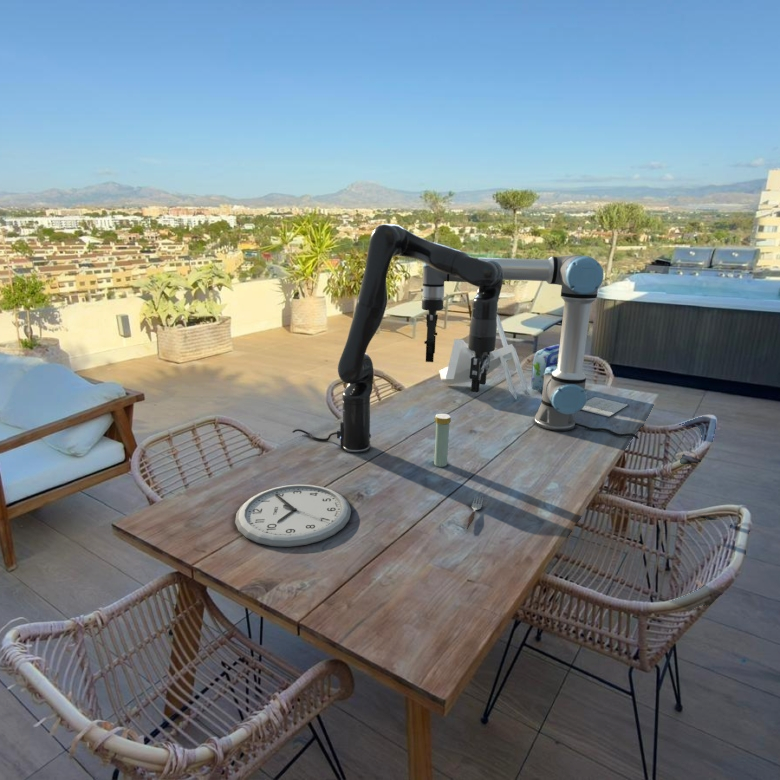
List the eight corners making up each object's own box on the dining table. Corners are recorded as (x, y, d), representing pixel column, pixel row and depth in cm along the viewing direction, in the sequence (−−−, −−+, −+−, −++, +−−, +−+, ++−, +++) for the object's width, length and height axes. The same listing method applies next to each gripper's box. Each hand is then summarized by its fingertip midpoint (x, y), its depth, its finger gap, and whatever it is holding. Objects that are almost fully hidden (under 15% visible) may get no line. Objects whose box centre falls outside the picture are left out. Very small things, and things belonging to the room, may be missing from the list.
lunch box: (547, 397, 237) (552, 352, 231) (526, 391, 245) (531, 348, 238) (574, 386, 255) (580, 344, 249) (554, 381, 262) (559, 340, 256)
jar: (431, 462, 170) (433, 416, 165) (442, 460, 172) (444, 414, 167) (438, 467, 166) (440, 420, 161) (449, 465, 168) (452, 418, 163)
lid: (432, 420, 166) (432, 414, 165) (444, 418, 168) (445, 412, 167) (440, 425, 161) (440, 419, 161) (453, 423, 164) (453, 417, 163)
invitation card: (608, 416, 214) (573, 407, 224) (608, 416, 214) (573, 408, 224) (628, 404, 229) (594, 396, 238) (628, 405, 229) (594, 397, 238)
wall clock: (351, 538, 125) (223, 542, 122) (351, 544, 125) (223, 548, 123) (350, 480, 153) (246, 482, 151) (350, 485, 154) (246, 487, 151)
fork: (461, 529, 132) (462, 523, 131) (474, 500, 146) (474, 494, 146) (471, 532, 131) (472, 525, 130) (483, 502, 145) (483, 495, 145)
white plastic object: (461, 429, 252) (437, 405, 227) (444, 352, 274) (420, 323, 250) (535, 404, 240) (518, 377, 215) (510, 326, 262) (492, 293, 237)
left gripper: (475, 327, 155) (471, 380, 160) (463, 336, 143) (459, 392, 148) (500, 330, 153) (496, 383, 158) (490, 339, 140) (485, 396, 145)
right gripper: (424, 293, 195) (422, 349, 202) (419, 302, 172) (417, 365, 178) (444, 294, 195) (441, 350, 201) (442, 303, 171) (439, 366, 177)
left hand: (478, 388), depth 153 cm, fingers open, 8 cm apart
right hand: (430, 357), depth 190 cm, fingers open, 13 cm apart
